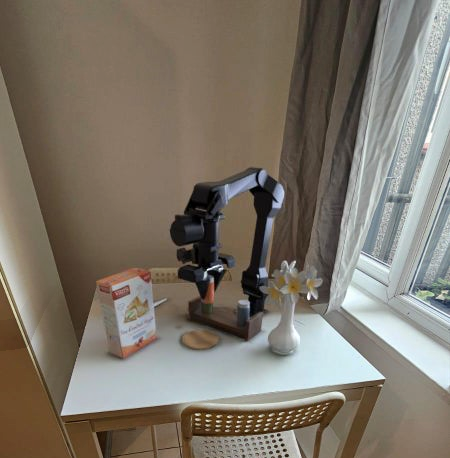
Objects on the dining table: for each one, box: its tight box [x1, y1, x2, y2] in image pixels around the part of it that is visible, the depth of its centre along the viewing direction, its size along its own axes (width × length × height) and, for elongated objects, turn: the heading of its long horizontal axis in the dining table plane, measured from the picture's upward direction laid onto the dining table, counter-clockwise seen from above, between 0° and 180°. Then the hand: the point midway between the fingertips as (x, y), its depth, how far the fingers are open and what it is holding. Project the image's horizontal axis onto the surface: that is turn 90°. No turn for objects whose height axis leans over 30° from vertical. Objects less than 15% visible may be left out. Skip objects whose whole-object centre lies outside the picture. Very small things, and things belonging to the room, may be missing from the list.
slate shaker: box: [236, 299, 250, 326], centre depth 103 cm, size 4×4×7 cm
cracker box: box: [95, 266, 158, 359], centre depth 92 cm, size 14×6×21 cm, turn 148°
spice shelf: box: [187, 295, 264, 342], centre depth 108 cm, size 8×23×6 cm, turn 55°
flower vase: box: [259, 258, 323, 356], centre depth 90 cm, size 13×18×25 cm
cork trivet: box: [181, 329, 219, 351], centre depth 101 cm, size 11×11×1 cm
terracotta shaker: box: [201, 274, 215, 304], centre depth 95 cm, size 4×4×7 cm
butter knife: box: [153, 298, 168, 308], centre depth 116 cm, size 1×27×3 cm
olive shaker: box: [201, 302, 214, 314], centre depth 109 cm, size 4×4×7 cm
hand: (207, 296), depth 96 cm, fingers closed on terracotta shaker, 4 cm apart
